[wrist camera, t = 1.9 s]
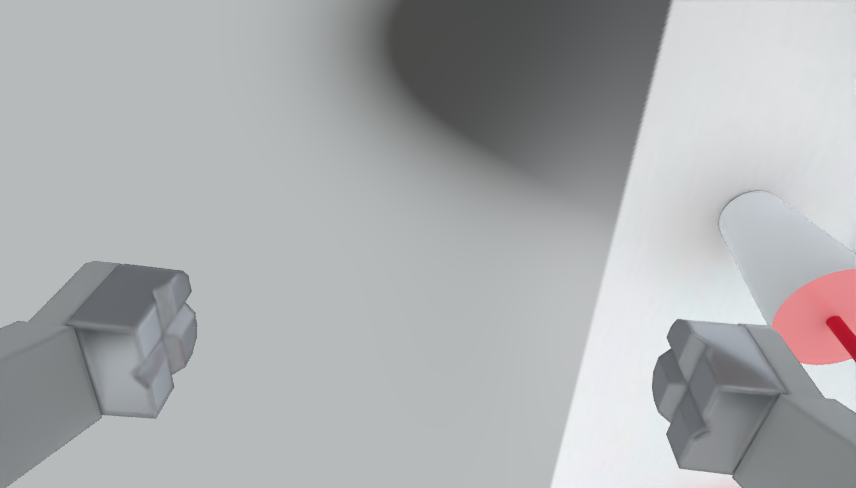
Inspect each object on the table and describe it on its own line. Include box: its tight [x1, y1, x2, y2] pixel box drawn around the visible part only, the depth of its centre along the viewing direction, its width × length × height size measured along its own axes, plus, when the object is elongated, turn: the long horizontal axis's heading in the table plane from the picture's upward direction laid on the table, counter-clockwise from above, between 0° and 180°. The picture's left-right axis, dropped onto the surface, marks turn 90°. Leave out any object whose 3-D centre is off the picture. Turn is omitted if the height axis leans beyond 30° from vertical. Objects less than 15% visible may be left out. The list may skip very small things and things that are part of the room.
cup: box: [719, 191, 856, 365], centre depth 28 cm, size 5×5×12 cm
